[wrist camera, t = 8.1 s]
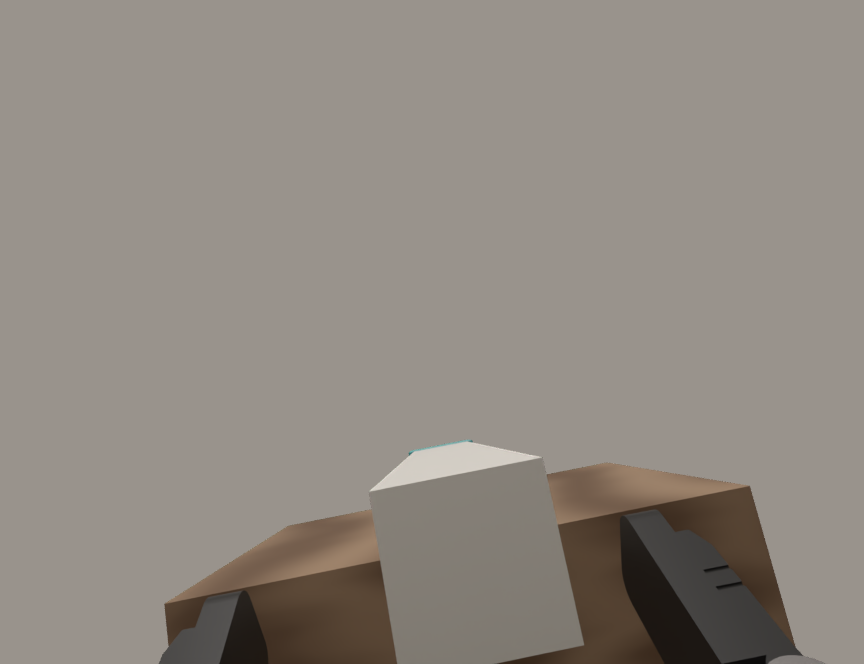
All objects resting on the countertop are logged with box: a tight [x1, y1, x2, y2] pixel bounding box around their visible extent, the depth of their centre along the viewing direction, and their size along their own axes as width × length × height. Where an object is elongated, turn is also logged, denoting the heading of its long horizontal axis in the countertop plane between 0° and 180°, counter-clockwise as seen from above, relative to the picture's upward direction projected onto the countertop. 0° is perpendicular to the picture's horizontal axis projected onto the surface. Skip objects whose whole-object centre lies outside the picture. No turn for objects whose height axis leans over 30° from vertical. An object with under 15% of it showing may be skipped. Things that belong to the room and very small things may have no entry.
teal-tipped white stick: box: [369, 440, 584, 664], centre depth 22 cm, size 4×26×3 cm, turn 0°
